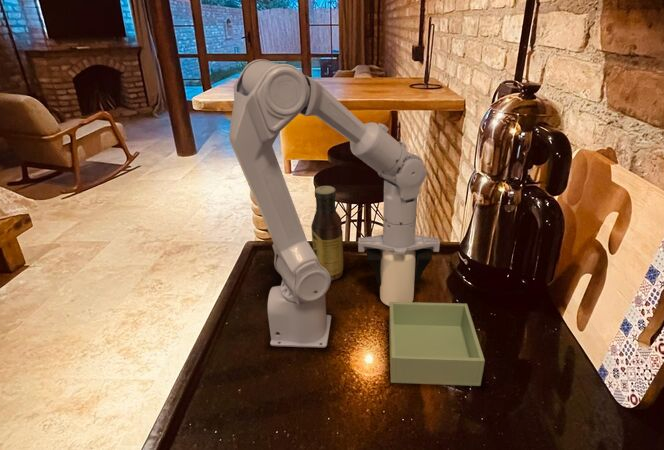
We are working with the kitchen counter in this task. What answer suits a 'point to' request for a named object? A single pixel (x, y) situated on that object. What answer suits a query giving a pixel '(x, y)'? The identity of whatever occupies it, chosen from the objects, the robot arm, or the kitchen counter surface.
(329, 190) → the sauce bottle
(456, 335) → the bin
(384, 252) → the can
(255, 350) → the kitchen counter surface
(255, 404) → the kitchen counter surface
